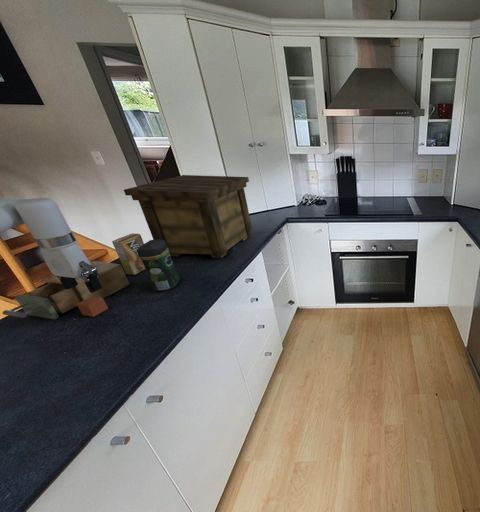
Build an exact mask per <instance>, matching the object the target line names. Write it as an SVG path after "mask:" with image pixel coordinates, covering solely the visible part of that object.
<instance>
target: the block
mask: <svg viewBox="0 0 480 512" xmlns="http://www.w3.org/2000/svg"><path fill="white" fill-rule="evenodd" d="M76 307H77V308H78V309H79V311H80V312H81V314H82V316H87V317H93V318H94V317H97V316H98V315H100V314H101V313H104V312H105V311H107V310H109V307H108V305H107V303H106V302H105V298H100V297H93V296H92V297H90V298H88V299H86V300H84V301H82V302H80V303H78V304H77V306H76Z"/></svg>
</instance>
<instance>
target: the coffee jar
mask: <svg viewBox="0 0 480 512" xmlns="http://www.w3.org/2000/svg"><path fill="white" fill-rule="evenodd" d="M137 253H138V256H139V258H140V259H141V261H142V262H143V264H144V267H145V269H144V270H145V272H146V275H147V277H148V280H149V283H150V287H151V288H152V290H153V291H156V292H166V291H168V290H171V289H173V288H175V287H176V286H177V285H178V284H179V282H180V279H181V277H180V276H179V273H178V271H177V268H176V266H175V263H174V262H173V259H172V256H170V253H169V249H168V246H167V244H166V242H165V241H163V240H161V239H160V240H153V239H149V240H148V241H146V242H145V243H144V244H143V245H142V246H140V247H139V248H138V249H137Z"/></svg>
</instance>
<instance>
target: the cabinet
mask: <svg viewBox="0 0 480 512" xmlns="http://www.w3.org/2000/svg"><path fill="white" fill-rule="evenodd" d="M89 262H90V264H91V266H93V267H95V268H96V269H97V273H98V280H99V282H100V284H101V286H102V288H101V289H99V290H97V291H95V292H93V293H90V292H89V290H88V288H87V286H86V284H85V283H84V282H86V281H85V280H84V279H82V278H81V277H80V276H79V277H77V278H75V279H76V281H77V283H78V285H77V286H75V287H76V289H77V291H78V293H79V294H80V296H81V298H82V300H83V301H84V300H86V299H88V298H90V297H92V296H93V297H100V298H103V299H105V298H107V297H108V296H111V295H112V294H114V293H116V292H118V291H120V290H122V289H124V288H127V287H128V286H130V285H131V284H130V282H129V280H128V277H127V276H126V275H127V274H126V272H125V270H124V268H123V266H122V263H121V264H120V263H113V262H106V261H99V260H93V261H89ZM83 272H85V271H83ZM83 272H81V273H83ZM88 275H89V273H88V274H86V275H85V276H86V277H88ZM60 279H61V278H60ZM60 279H59V278H57V276H56V275H54V276H52V277H49V278H47V279H45V282H46V283H47V284H50V283H58V284H62V283H61V281H60Z"/></svg>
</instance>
